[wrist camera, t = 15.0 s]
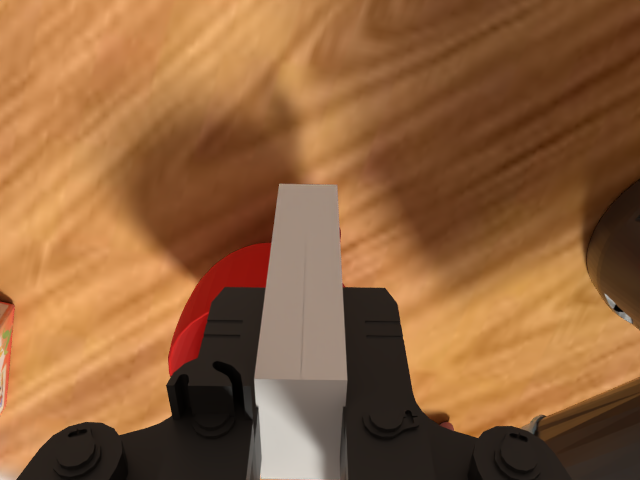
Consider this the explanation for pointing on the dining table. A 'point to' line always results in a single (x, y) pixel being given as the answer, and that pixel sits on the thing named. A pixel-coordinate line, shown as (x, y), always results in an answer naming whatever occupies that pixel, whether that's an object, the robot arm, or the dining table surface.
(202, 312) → the ceramic cup
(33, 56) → the dining table surface
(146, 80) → the dining table surface
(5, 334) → the cracker box
